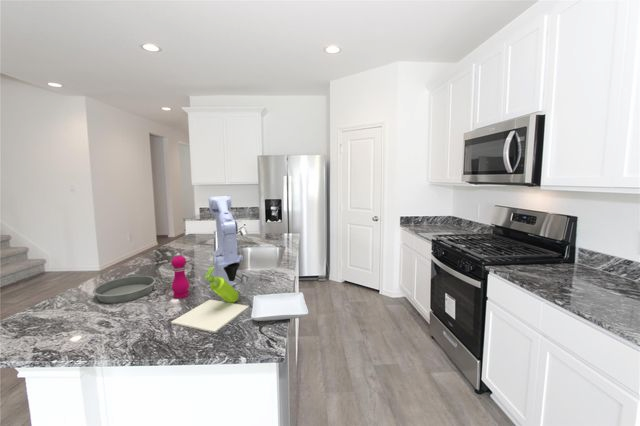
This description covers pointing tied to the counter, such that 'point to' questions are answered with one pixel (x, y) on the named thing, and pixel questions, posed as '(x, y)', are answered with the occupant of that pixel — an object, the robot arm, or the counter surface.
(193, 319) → the mat
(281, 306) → the salad plate
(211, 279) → the soap dispenser
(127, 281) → the cake pan
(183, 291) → the pepper mill
